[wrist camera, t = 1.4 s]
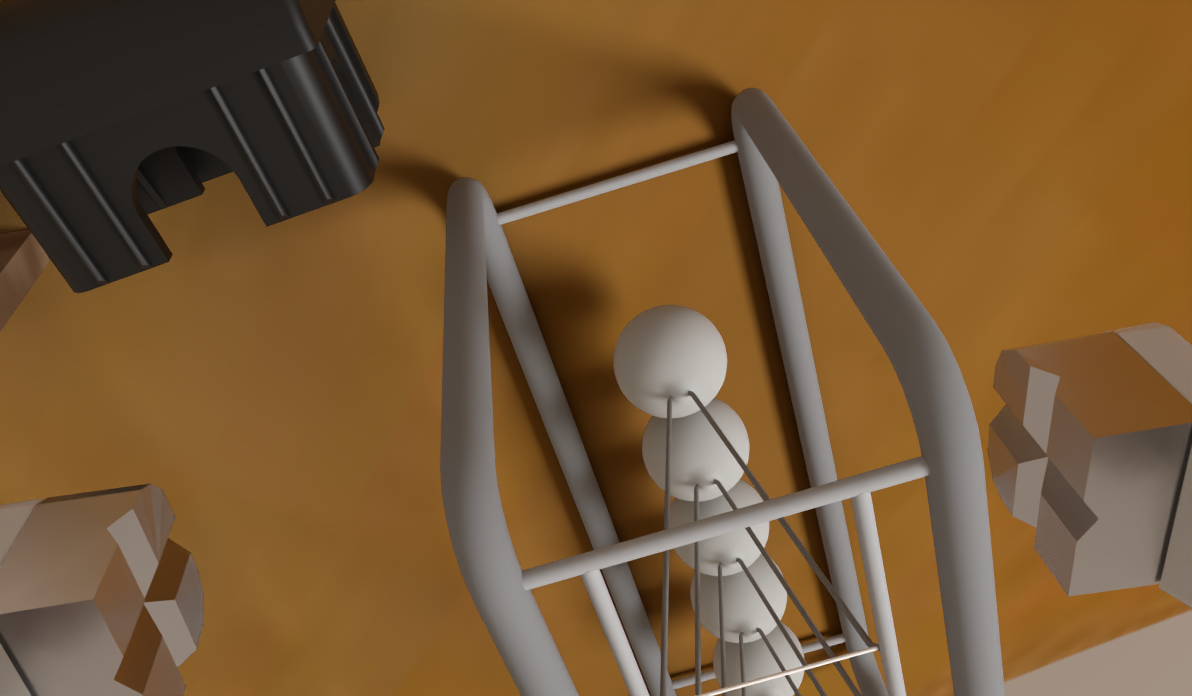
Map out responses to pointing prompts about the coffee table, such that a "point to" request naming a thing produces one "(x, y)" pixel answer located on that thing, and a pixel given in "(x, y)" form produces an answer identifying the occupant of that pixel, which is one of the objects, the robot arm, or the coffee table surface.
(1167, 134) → the coffee table surface
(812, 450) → the newton's cradle
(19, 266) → the walnut organizer
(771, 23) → the coffee table surface
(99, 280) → the end cap
